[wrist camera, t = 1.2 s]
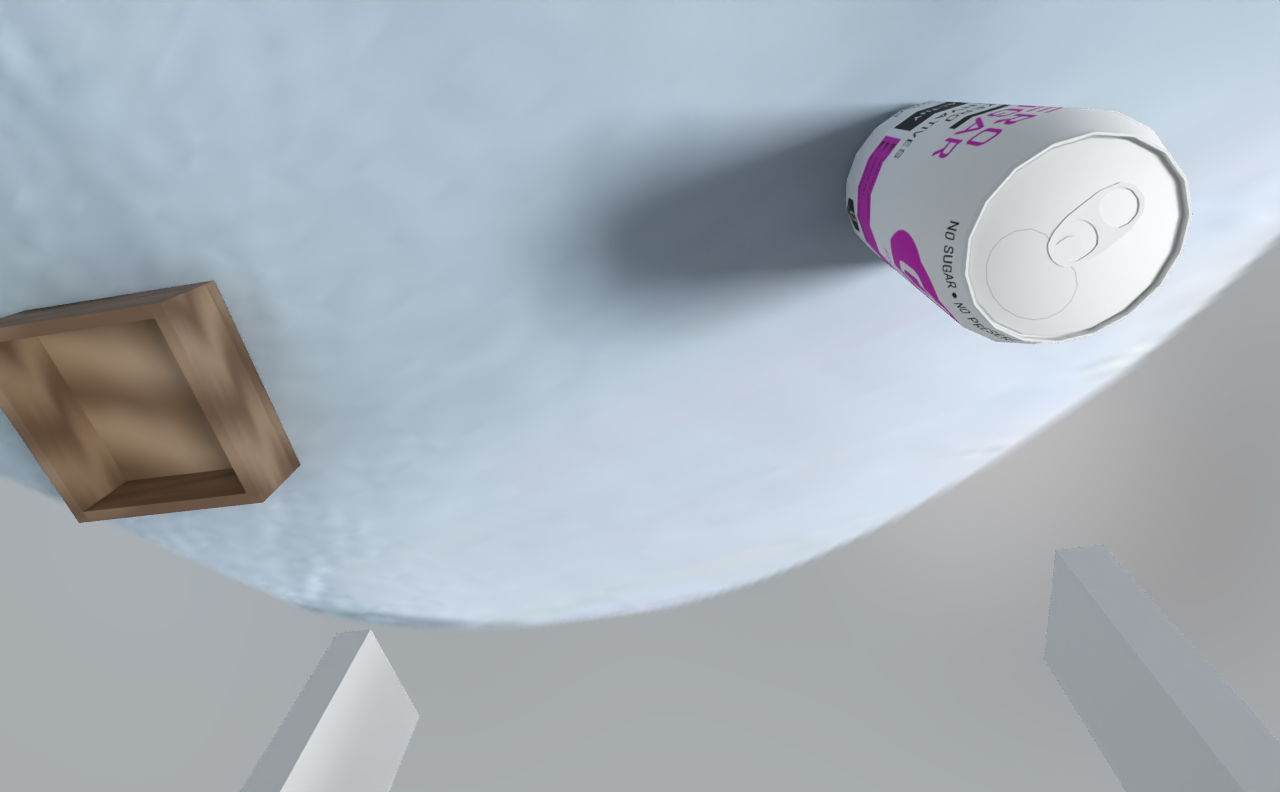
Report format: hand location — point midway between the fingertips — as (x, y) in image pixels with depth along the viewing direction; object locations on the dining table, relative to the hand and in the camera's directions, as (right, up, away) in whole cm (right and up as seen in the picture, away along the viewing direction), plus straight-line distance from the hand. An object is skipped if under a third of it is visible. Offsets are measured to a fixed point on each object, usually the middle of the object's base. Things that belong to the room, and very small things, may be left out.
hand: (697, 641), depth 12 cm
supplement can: (+14, +16, +22) cm, 31 cm away
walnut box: (-33, +5, +30) cm, 45 cm away
